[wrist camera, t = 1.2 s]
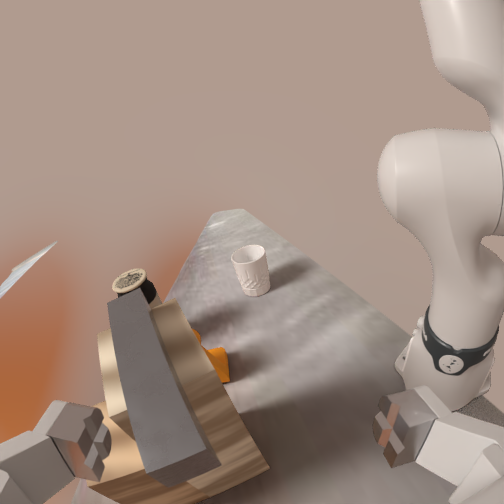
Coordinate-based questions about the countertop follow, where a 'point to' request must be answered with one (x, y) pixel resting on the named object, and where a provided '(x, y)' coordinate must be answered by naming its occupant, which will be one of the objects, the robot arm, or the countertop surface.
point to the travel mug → (137, 286)
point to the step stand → (205, 407)
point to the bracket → (217, 360)
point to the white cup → (252, 269)
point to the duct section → (156, 397)
